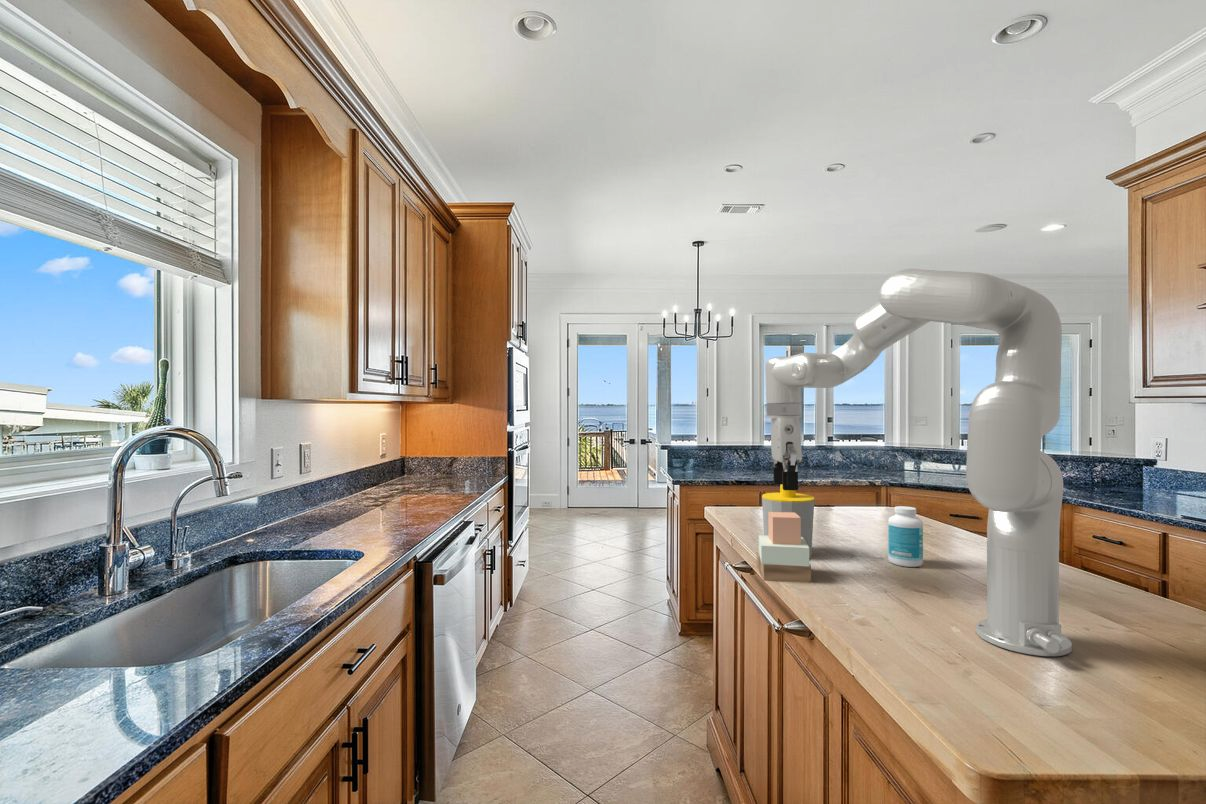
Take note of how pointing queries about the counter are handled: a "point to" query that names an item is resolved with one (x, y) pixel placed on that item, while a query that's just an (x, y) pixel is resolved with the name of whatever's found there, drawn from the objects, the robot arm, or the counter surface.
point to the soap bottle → (791, 510)
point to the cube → (784, 528)
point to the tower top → (783, 553)
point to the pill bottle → (905, 537)
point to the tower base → (783, 572)
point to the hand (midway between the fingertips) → (785, 487)
